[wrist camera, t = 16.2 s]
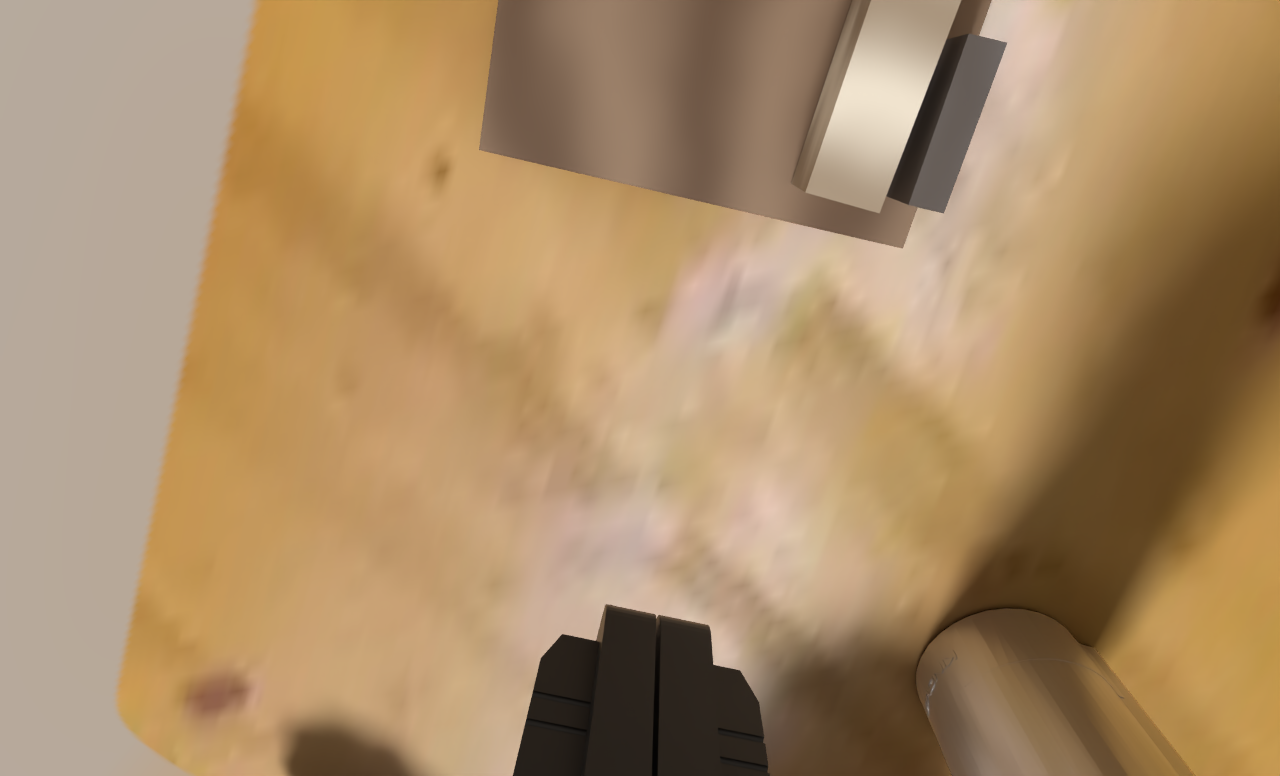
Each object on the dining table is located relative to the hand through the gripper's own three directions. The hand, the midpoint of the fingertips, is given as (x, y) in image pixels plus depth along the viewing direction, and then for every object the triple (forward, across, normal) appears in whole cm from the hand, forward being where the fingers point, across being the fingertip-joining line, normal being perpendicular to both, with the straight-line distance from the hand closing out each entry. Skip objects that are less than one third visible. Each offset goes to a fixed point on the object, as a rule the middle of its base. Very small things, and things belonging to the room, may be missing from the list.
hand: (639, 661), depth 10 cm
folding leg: (+24, -6, -13) cm, 28 cm away
